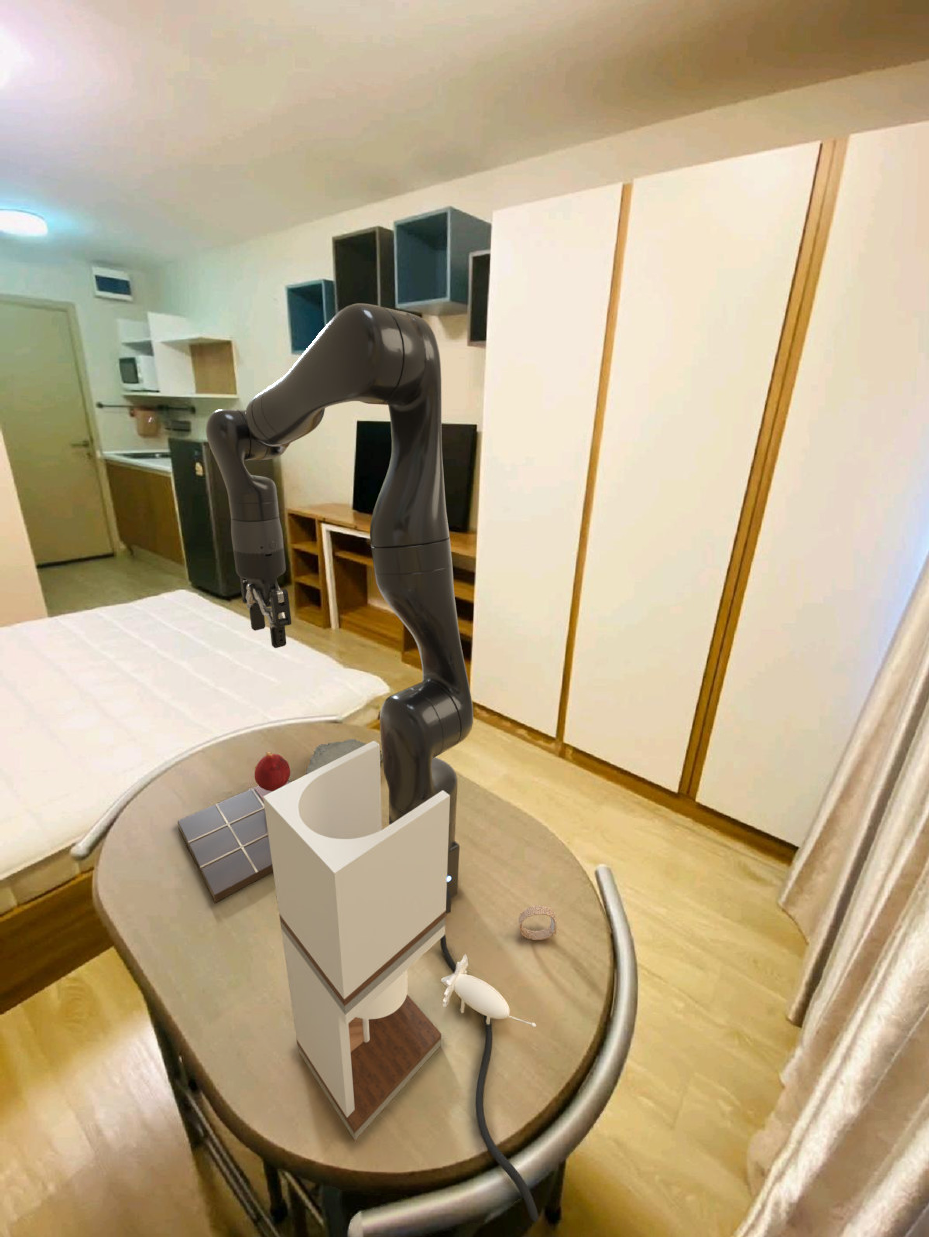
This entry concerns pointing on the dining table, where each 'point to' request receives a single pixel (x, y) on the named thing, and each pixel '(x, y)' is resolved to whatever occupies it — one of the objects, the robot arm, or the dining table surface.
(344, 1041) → the white wooden tower stand
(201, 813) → the grid board
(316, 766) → the rock
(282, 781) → the onion
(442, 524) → the robot arm
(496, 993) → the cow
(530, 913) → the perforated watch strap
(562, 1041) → the dining table surface
